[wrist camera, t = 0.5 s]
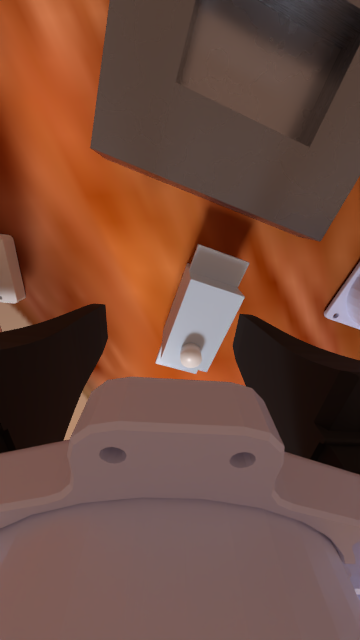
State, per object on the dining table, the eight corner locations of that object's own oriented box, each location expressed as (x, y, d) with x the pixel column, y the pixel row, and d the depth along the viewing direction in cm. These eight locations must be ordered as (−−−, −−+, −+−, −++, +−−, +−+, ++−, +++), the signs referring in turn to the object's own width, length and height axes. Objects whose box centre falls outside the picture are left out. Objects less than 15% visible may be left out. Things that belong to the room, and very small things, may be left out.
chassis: (438, -17, 12) (512, -80, 10) (298, 236, 18) (320, 241, 15) (163, -212, 10) (158, -373, 7) (105, 158, 16) (90, 147, 13)
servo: (195, 239, 18) (203, 252, 13) (238, 255, 19) (263, 273, 13) (157, 345, 23) (152, 386, 17) (193, 355, 23) (199, 398, 18)
